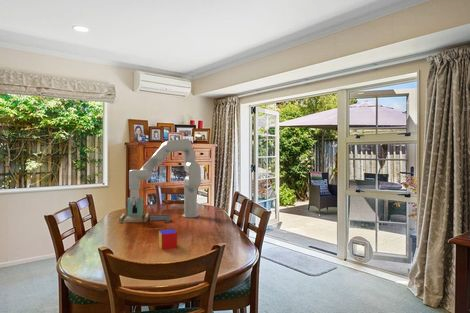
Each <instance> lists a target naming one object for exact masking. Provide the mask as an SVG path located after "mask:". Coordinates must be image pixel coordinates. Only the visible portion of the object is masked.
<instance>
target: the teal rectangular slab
mask: <svg viewBox="0 0 470 313" xmlns="http://www.w3.org/2000/svg"><path fill="white" fill-rule="evenodd" d="M127 201H128V216H142V218H143V207H144V200H143V197H139V198H138V203H137V213H132V208H133V205H132V203H131V204H130V197H127ZM135 203H136V202H135Z"/></svg>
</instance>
